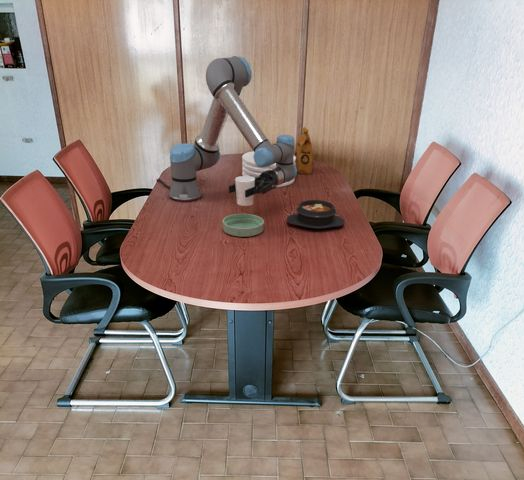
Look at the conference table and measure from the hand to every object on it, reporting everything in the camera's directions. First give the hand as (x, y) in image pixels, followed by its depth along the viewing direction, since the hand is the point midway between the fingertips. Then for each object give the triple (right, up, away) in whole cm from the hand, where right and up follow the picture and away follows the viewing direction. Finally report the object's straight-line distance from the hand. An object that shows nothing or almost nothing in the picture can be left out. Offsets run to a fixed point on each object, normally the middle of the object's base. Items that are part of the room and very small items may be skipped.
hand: (237, 191), depth 207 cm
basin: (+2, -12, +12) cm, 17 cm away
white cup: (+3, -3, +7) cm, 8 cm away
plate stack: (+13, +28, +71) cm, 78 cm away
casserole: (+33, -9, +19) cm, 39 cm away
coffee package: (+33, +37, +85) cm, 98 cm away
